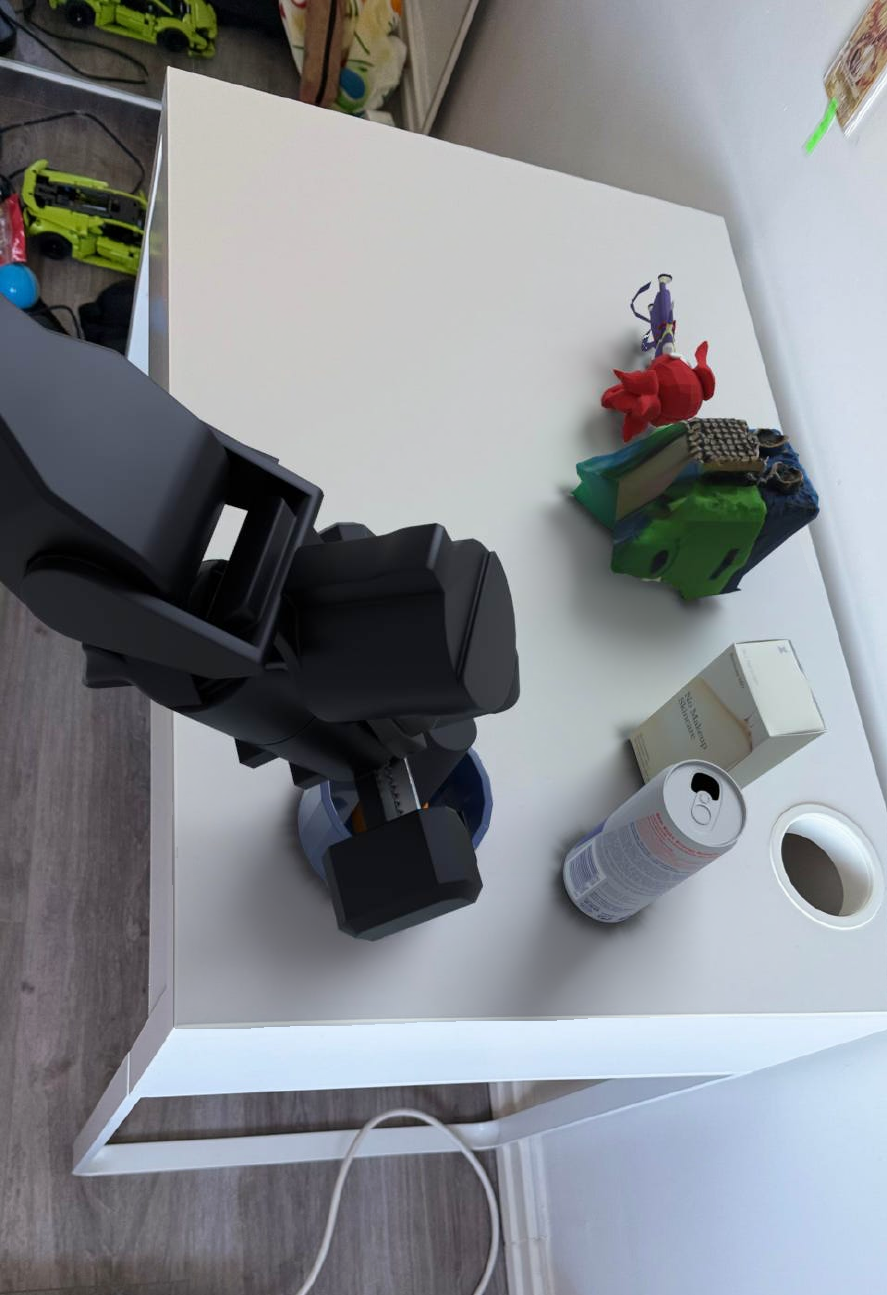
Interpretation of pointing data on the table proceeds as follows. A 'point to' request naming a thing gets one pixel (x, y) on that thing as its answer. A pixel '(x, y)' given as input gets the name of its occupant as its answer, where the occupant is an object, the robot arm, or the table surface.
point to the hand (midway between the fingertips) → (437, 766)
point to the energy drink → (656, 840)
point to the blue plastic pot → (334, 801)
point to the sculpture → (698, 502)
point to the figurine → (660, 375)
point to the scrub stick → (432, 763)
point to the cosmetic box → (735, 714)
